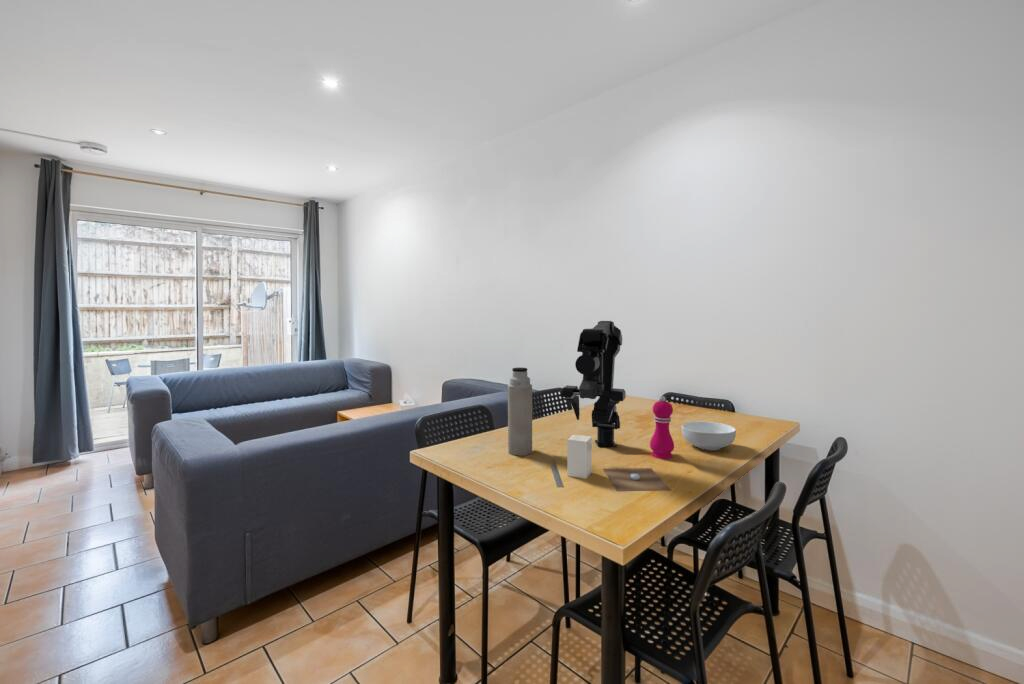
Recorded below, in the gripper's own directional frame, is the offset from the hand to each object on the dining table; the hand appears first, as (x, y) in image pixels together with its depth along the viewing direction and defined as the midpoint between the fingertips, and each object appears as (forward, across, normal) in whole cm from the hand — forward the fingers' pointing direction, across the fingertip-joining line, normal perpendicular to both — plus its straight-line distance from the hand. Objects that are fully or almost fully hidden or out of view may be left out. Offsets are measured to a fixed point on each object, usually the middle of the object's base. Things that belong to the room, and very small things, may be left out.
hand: (592, 421), depth 139 cm
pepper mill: (+13, +19, +11) cm, 26 cm away
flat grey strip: (+13, -1, -14) cm, 19 cm away
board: (+13, +14, -12) cm, 23 cm away
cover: (+12, 0, -14) cm, 19 cm away
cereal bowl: (+13, +33, +30) cm, 46 cm away
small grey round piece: (+12, +14, -12) cm, 22 cm away
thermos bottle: (+13, -24, +1) cm, 28 cm away
